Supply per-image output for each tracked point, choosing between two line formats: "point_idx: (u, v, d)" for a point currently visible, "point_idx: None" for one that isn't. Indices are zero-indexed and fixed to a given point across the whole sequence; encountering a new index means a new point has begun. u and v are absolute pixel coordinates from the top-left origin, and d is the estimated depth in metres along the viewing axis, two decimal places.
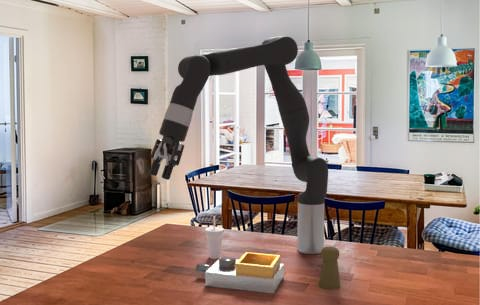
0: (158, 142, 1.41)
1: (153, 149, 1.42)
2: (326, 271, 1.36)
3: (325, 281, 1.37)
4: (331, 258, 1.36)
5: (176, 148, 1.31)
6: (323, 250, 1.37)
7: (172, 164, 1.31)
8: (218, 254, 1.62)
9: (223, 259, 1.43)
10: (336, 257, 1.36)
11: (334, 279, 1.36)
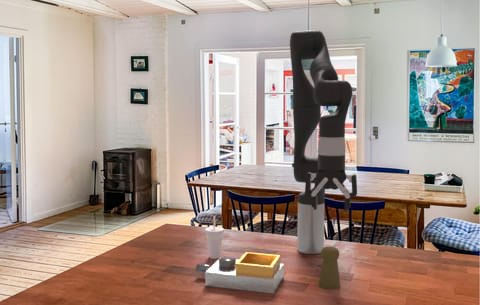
0: (310, 176, 1.36)
1: (306, 184, 1.36)
2: (326, 271, 1.36)
3: (325, 281, 1.37)
4: (331, 258, 1.36)
5: (356, 181, 1.33)
6: (323, 250, 1.37)
7: None
8: (218, 254, 1.62)
9: (223, 259, 1.43)
10: (336, 257, 1.36)
11: (334, 279, 1.36)
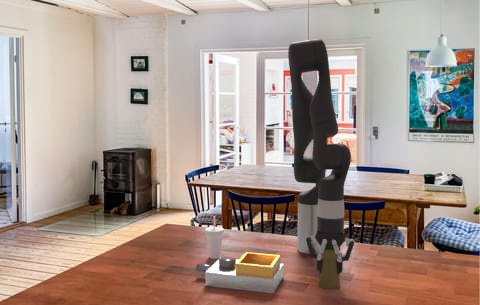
0: (310, 240, 1.38)
1: (309, 249, 1.38)
2: (326, 271, 1.36)
3: (325, 281, 1.36)
4: (331, 258, 1.35)
5: (352, 247, 1.35)
6: None
7: None
8: (218, 254, 1.62)
9: (223, 259, 1.43)
10: (336, 257, 1.36)
11: (334, 279, 1.36)
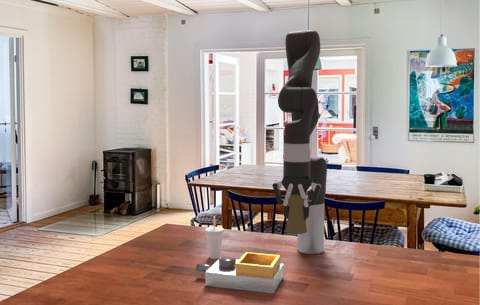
0: (277, 185, 1.37)
1: (276, 194, 1.37)
2: (293, 216, 1.35)
3: (292, 227, 1.35)
4: (298, 203, 1.34)
5: (318, 191, 1.34)
6: (290, 195, 1.36)
7: None
8: (218, 254, 1.62)
9: (223, 259, 1.43)
10: (302, 202, 1.35)
11: (300, 224, 1.35)
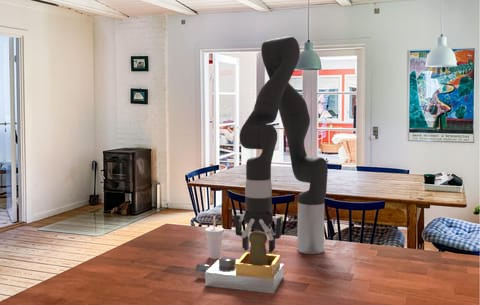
0: (238, 218, 1.40)
1: (236, 226, 1.40)
2: (254, 255, 1.38)
3: None
4: (258, 242, 1.37)
5: (280, 224, 1.36)
6: (251, 234, 1.39)
7: None
8: (218, 254, 1.62)
9: (223, 259, 1.43)
10: (263, 241, 1.38)
11: (261, 263, 1.38)
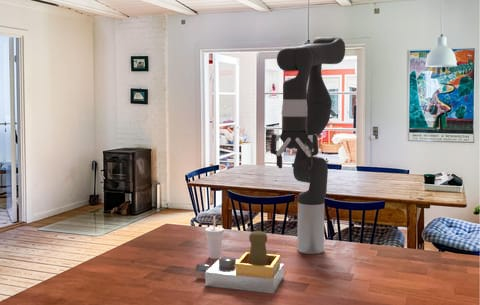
0: (275, 137, 1.46)
1: (271, 145, 1.46)
2: (254, 255, 1.38)
3: None
4: (258, 242, 1.37)
5: (317, 140, 1.43)
6: (251, 234, 1.39)
7: None
8: (218, 254, 1.62)
9: (223, 259, 1.43)
10: (263, 241, 1.38)
11: (261, 263, 1.38)
